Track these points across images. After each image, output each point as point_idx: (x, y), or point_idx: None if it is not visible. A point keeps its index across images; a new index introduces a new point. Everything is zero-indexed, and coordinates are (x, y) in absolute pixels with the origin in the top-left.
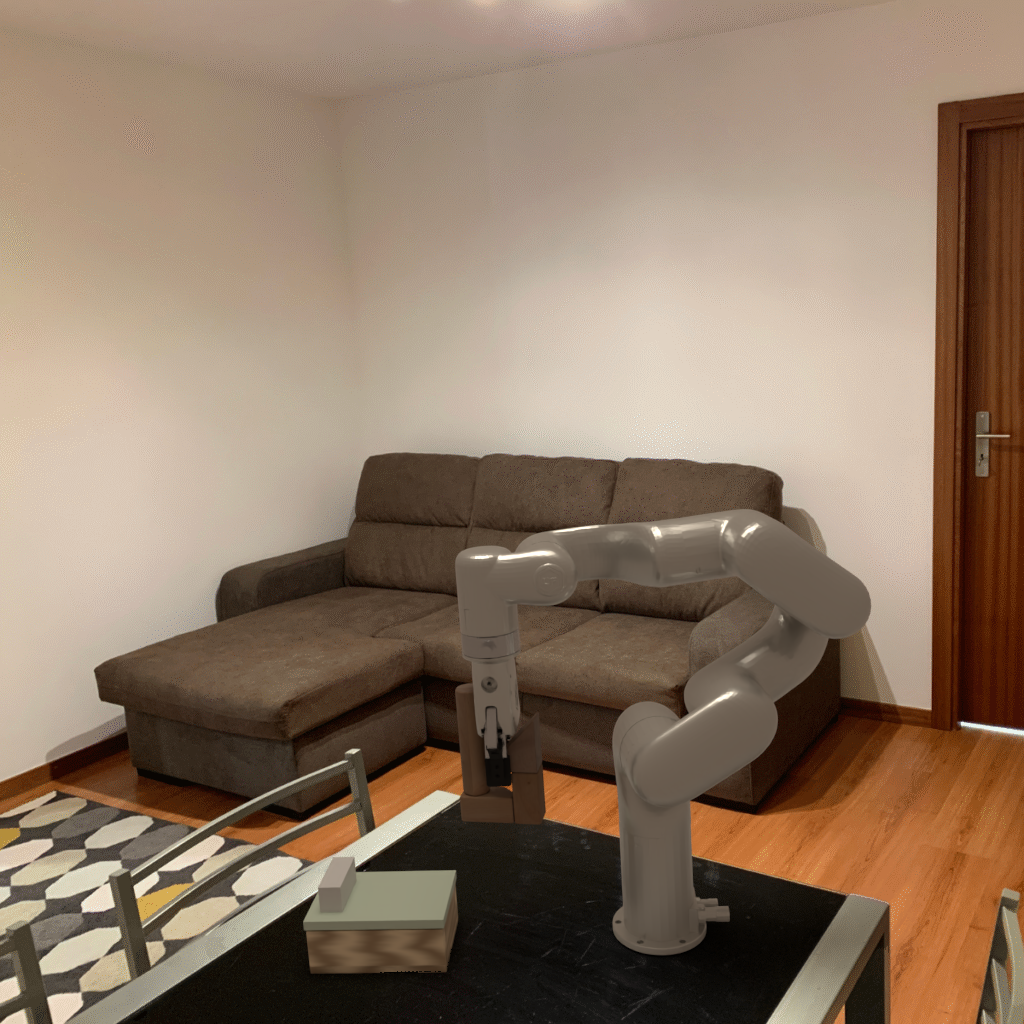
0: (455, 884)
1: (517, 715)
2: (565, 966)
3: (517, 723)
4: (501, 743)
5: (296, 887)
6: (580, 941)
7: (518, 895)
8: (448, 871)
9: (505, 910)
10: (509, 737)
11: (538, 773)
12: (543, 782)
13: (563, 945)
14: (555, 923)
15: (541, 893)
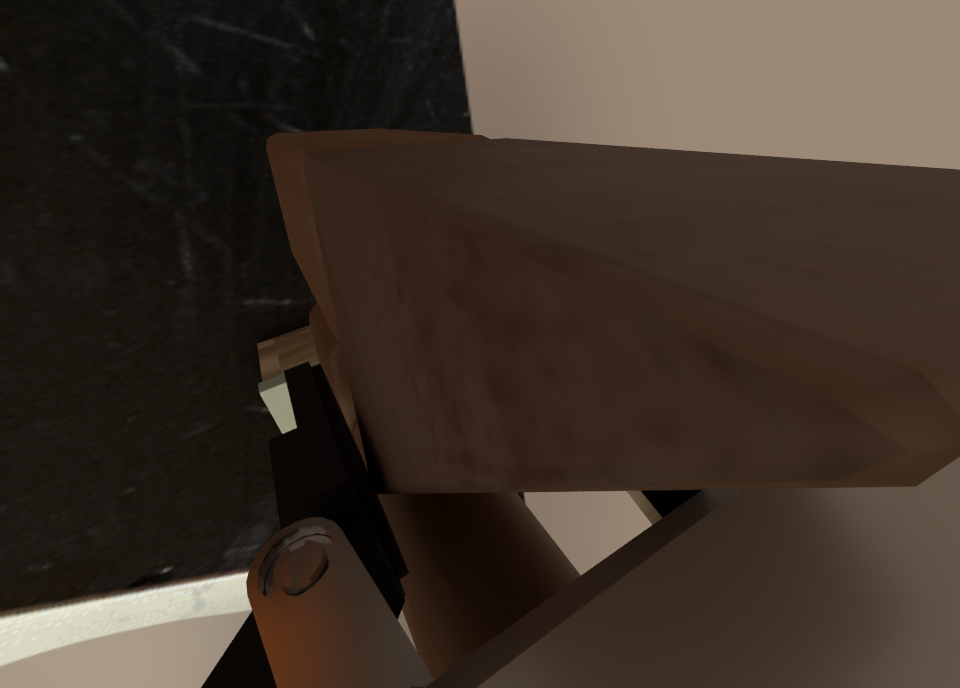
0: (262, 378)
1: (933, 650)
2: (329, 79)
3: (823, 501)
4: (380, 531)
5: None
6: (223, 57)
7: (87, 270)
8: (272, 403)
9: (174, 274)
10: (342, 536)
11: (470, 137)
12: (306, 138)
13: (257, 99)
14: (172, 140)
15: (38, 217)
